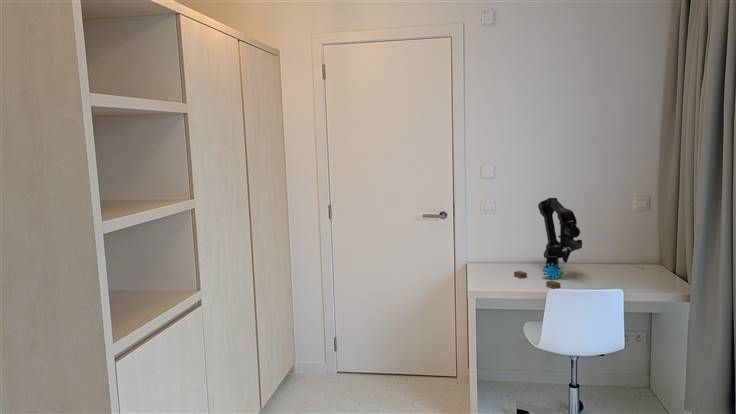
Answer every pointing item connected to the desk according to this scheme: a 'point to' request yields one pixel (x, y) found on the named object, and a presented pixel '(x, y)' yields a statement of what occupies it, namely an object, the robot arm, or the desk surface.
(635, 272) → the desk surface
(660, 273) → the desk surface
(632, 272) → the desk surface
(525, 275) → the joist marks
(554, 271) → the gear
